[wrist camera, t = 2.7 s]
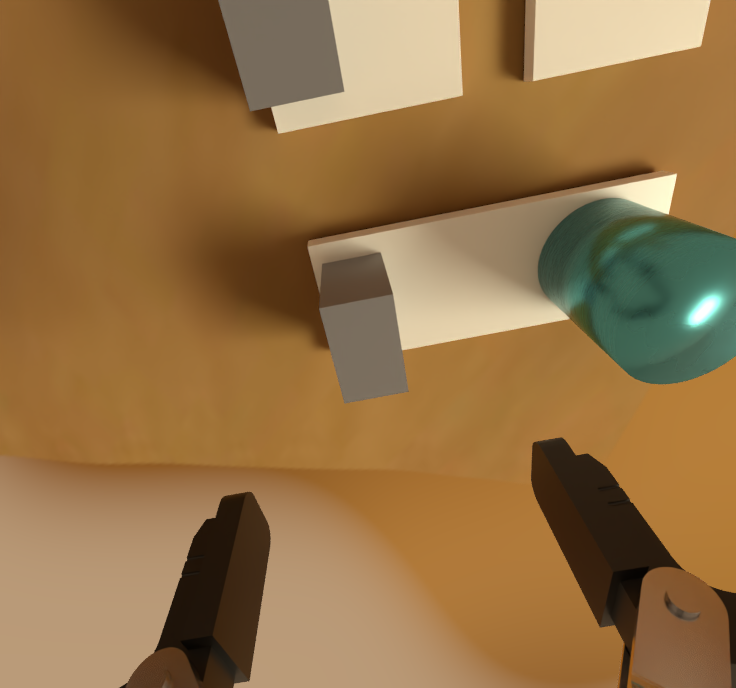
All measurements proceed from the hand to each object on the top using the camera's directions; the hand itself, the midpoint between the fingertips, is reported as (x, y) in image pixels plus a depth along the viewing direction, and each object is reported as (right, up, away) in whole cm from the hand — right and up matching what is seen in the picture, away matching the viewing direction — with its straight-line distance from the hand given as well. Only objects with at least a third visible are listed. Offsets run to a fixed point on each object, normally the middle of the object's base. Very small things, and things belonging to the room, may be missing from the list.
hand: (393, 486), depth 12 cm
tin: (+11, +9, +10) cm, 17 cm away
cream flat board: (+6, +8, +11) cm, 15 cm away
